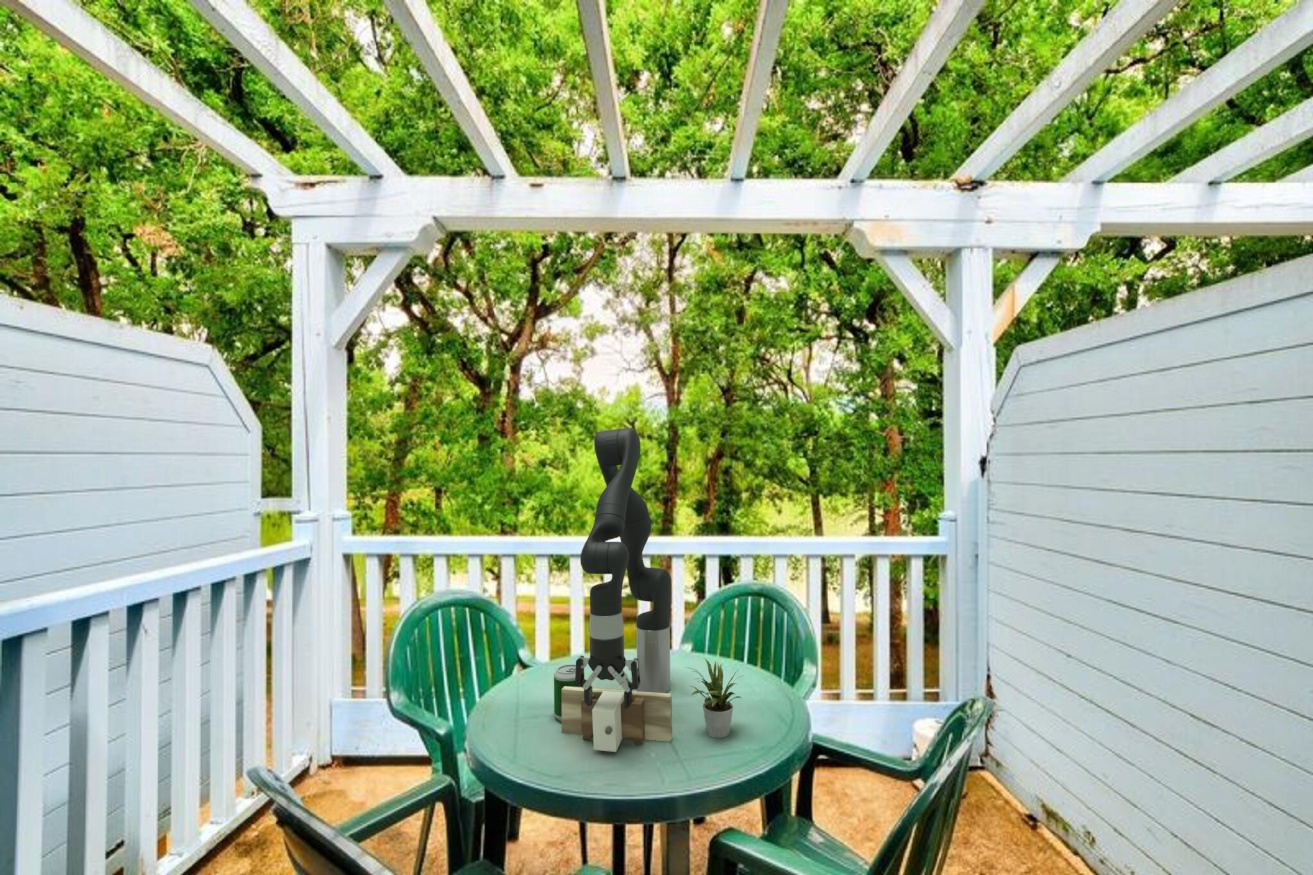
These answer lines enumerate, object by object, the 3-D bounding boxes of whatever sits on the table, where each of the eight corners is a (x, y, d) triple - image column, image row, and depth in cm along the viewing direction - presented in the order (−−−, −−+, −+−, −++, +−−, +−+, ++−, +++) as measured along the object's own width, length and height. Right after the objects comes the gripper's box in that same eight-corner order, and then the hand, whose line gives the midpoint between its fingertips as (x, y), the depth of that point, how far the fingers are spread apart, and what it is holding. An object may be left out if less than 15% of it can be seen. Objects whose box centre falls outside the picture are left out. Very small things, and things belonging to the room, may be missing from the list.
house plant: (674, 723, 144) (673, 655, 144) (724, 713, 149) (723, 647, 150) (701, 750, 131) (700, 675, 131) (755, 737, 136) (754, 665, 136)
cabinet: (605, 728, 138) (603, 690, 137) (625, 729, 137) (624, 692, 136) (592, 752, 129) (590, 712, 128) (614, 754, 128) (613, 714, 127)
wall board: (564, 728, 142) (564, 686, 142) (672, 737, 137) (671, 693, 137) (556, 739, 137) (556, 695, 137) (667, 749, 132) (667, 703, 132)
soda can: (579, 725, 144) (578, 675, 144) (549, 722, 145) (549, 673, 146) (588, 711, 151) (588, 664, 151) (560, 709, 153) (560, 662, 153)
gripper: (641, 628, 134) (643, 700, 134) (581, 625, 137) (582, 696, 136) (634, 639, 126) (635, 715, 126) (570, 636, 129) (571, 711, 129)
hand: (608, 705), depth 131 cm, fingers open, 8 cm apart
